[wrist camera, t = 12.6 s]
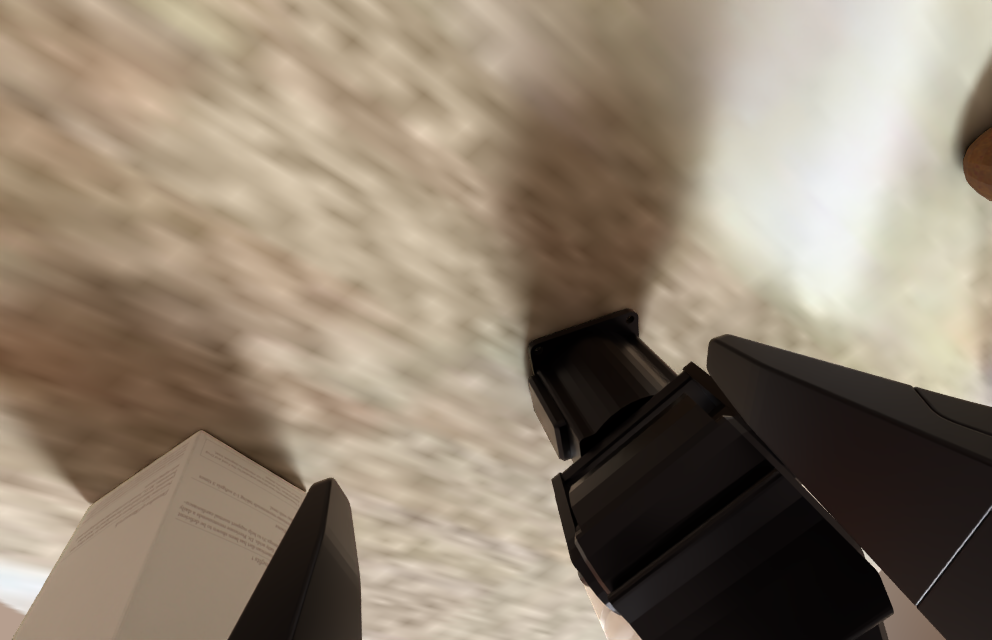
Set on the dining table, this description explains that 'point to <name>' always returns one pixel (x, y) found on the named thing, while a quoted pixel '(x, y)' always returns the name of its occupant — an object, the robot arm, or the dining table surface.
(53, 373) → the dining table surface
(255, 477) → the supplement box
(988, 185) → the potato
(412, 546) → the dining table surface
